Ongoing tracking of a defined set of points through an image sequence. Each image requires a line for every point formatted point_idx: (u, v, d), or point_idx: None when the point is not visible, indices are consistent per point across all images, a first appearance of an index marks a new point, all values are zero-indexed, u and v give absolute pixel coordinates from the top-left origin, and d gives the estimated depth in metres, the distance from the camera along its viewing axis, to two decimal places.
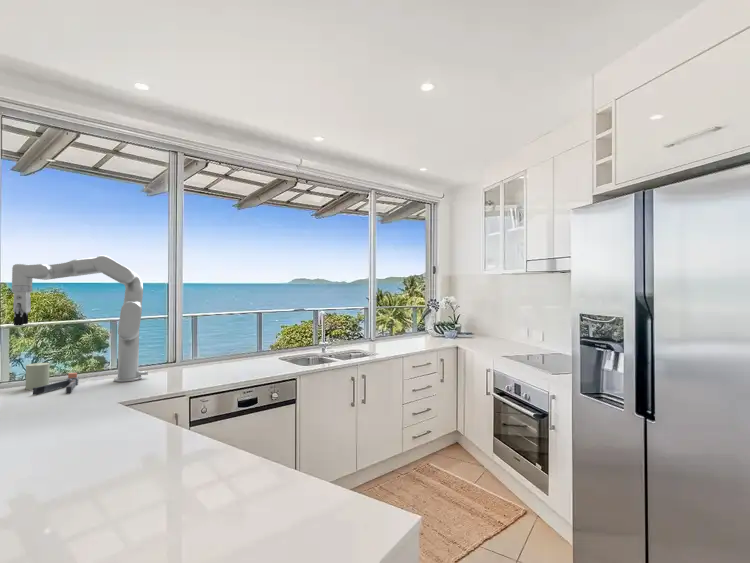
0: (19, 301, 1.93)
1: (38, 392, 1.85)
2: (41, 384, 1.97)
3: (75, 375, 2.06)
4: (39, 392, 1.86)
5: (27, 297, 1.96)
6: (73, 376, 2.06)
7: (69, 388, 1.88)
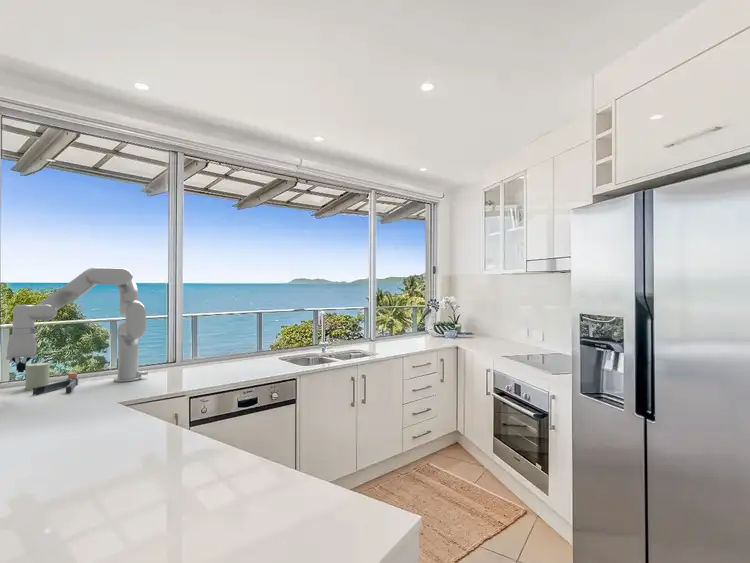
0: (36, 343, 1.88)
1: (38, 392, 1.85)
2: (41, 384, 1.97)
3: (75, 375, 2.06)
4: (39, 392, 1.86)
5: None
6: (73, 376, 2.06)
7: (69, 388, 1.88)
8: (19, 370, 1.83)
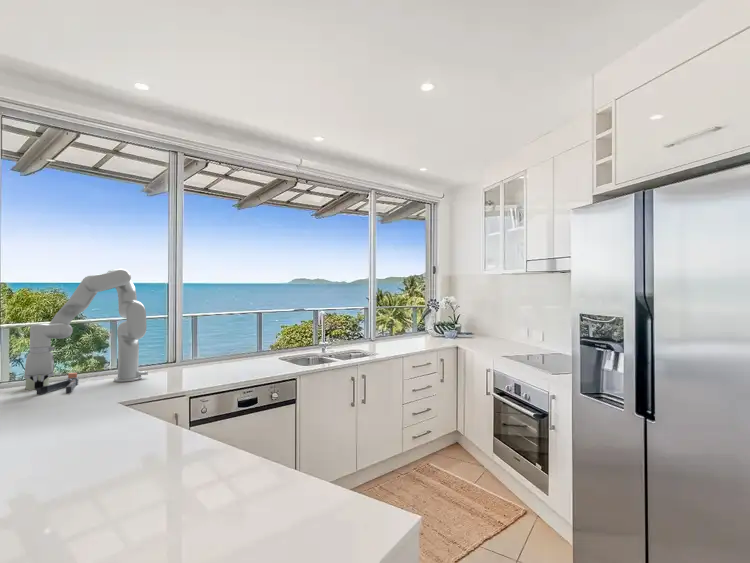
0: (53, 361, 1.91)
1: (42, 392, 1.85)
2: None
3: (75, 375, 2.06)
4: (43, 392, 1.86)
5: None
6: (73, 376, 2.06)
7: (69, 388, 1.88)
8: None
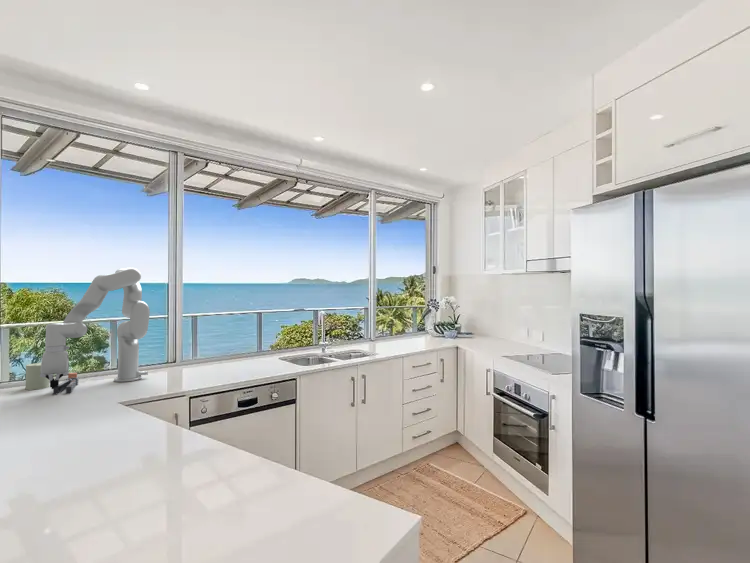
0: (68, 360, 1.94)
1: (58, 391, 1.87)
2: (41, 384, 1.97)
3: (75, 375, 2.06)
4: (59, 391, 1.87)
5: None
6: (73, 376, 2.06)
7: (69, 388, 1.88)
8: (53, 387, 1.89)
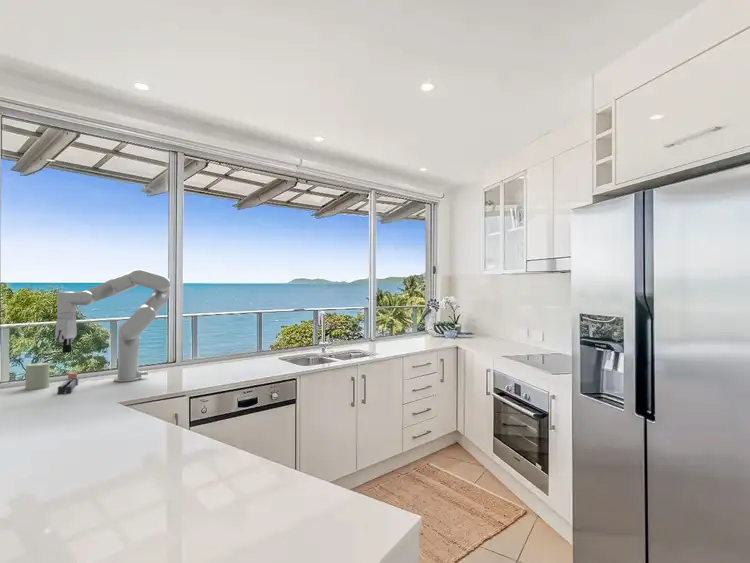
0: None
1: (63, 391, 1.88)
2: (41, 384, 1.97)
3: (75, 375, 2.06)
4: (63, 391, 1.88)
5: None
6: (73, 376, 2.06)
7: (69, 388, 1.88)
8: (69, 350, 2.04)
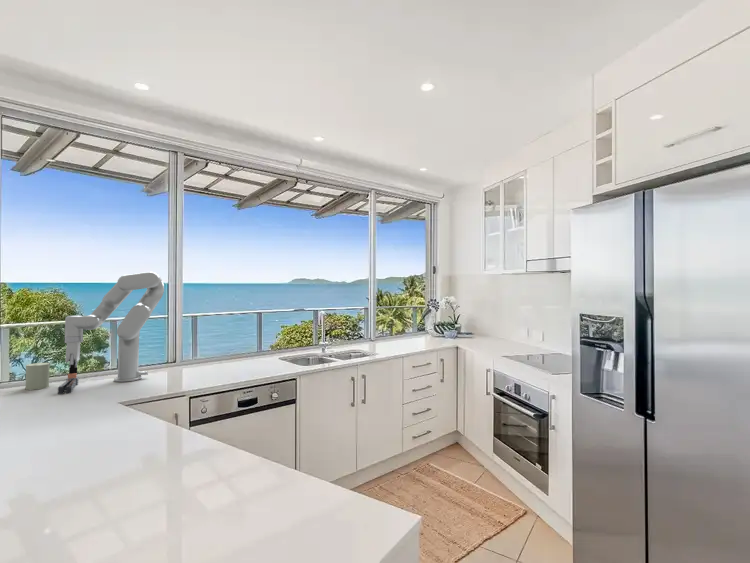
0: None
1: (63, 391, 1.88)
2: (41, 384, 1.97)
3: (75, 375, 2.05)
4: (63, 391, 1.88)
5: None
6: (73, 377, 2.04)
7: (69, 388, 1.88)
8: None
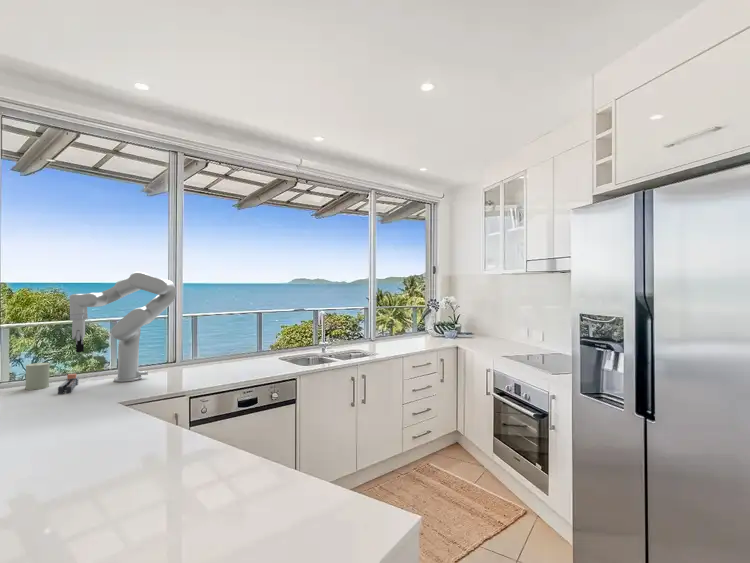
0: None
1: (63, 391, 1.88)
2: (41, 384, 1.97)
3: (74, 376, 2.04)
4: (63, 391, 1.88)
5: None
6: (72, 377, 2.03)
7: (69, 388, 1.88)
8: (83, 349, 2.15)
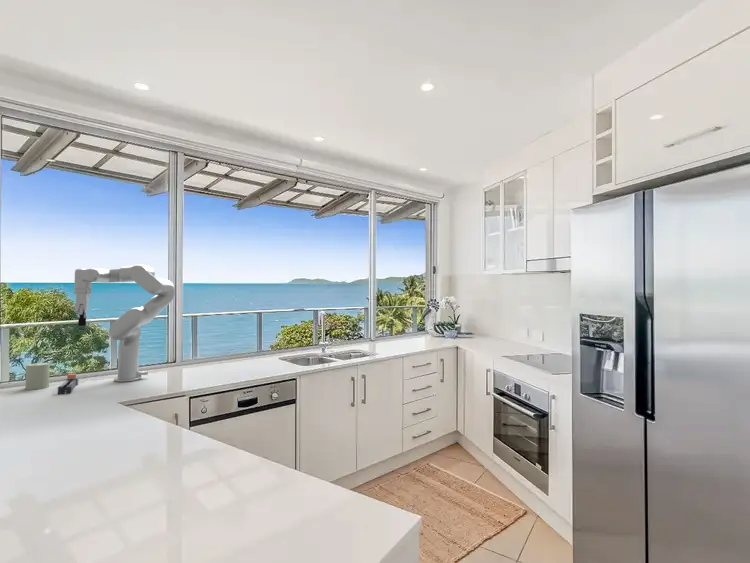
0: None
1: (63, 391, 1.88)
2: (41, 384, 1.97)
3: (74, 376, 2.04)
4: (63, 391, 1.88)
5: None
6: (72, 377, 2.03)
7: (69, 388, 1.88)
8: (85, 323, 2.19)
